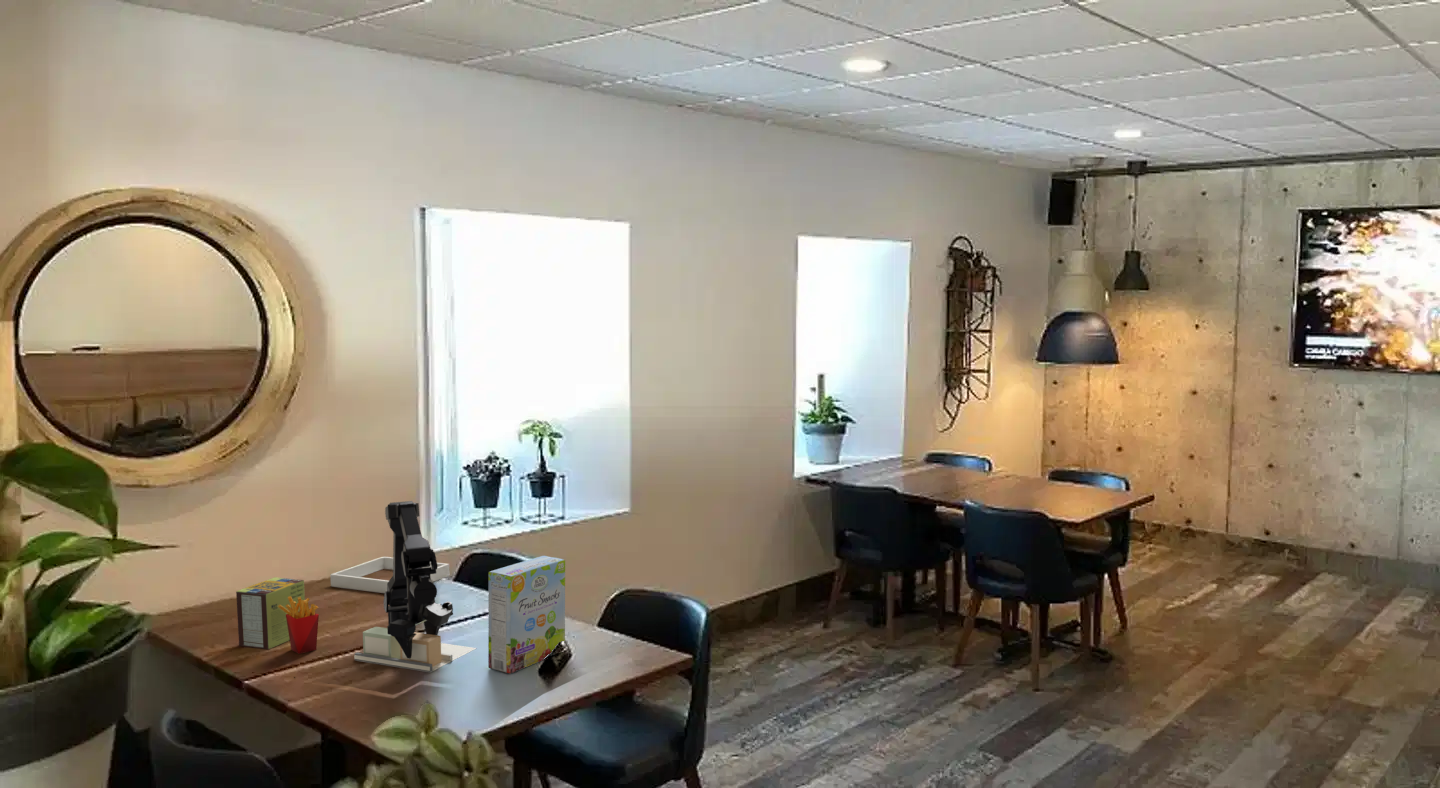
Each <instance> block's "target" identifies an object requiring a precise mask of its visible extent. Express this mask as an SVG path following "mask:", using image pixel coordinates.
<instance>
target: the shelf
mask: <svg viewBox="0 0 1440 788" xmlns="http://www.w3.org/2000/svg"><path fill="white" fill-rule="evenodd" d="M476 649H477V647H471V646H465V645H464V646H463V645H458V644H457V645H456V644H450V643H443V642H441V663H439V664H437V665H435V666H433V667H432V664H428V663H422V662H416V661H409V660H403V659H401V658H399V659H397V658H390V657H384V656H378V655H371V654H365V653H363V652H359V651H358V652H355V653H353V654H354V661H357V662H363V663H369V664H375V665H381V666H387V667H395V668H400V669H408V670H413V671H418V672H419V671H420V672H423V673H425V672H426V673H432V672H433V671H435V670H438V669H439V668H441V667H444V666H446V665H447V664H449V663H451V662H454V661H455V660H458V659H459V658H461V657H462V656H465V655H467V654H469V653H471V652H472V651H475V650H476Z"/></svg>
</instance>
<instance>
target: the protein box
mask: <svg viewBox="0 0 1440 788" xmlns="http://www.w3.org/2000/svg"><path fill="white" fill-rule="evenodd" d="M235 594H236V610H237V613H236V614H237V632H238V646H240V647H247V648H255V649H256V648H257V649H264V650H270V649H272V648H275V647H277V646H279V645H281V644H284V643H286V642H290V638H289V632H288V626H287V620H286V614H287V613H286V612H284V611H283V610H282V609H280V608H279V607H278V606H279V605H281V606H283V607H284V608H285V609H287V610H288V608H287V607H286V605H287V604H288V605H289V606H290V607H291V604H290V602H289V600H288V597H289V596H291V597H292V600H293V601H295V602H296V605H297V603H298V597H301V600H303V601H304V600H306V598H305V597H306V596H305V594H306V593H305V580H304V579H293V578H285V577H284V578H283V577H282V578H281V577H277V576H276V577H275V576H274V577H272V578H270V579H266V580H264V581H260V582H258V583H255V584H253V585H249V586H248V587H245V588H242V589H239V590H236V591H235ZM296 605H295V607H296ZM291 609H292V607H291ZM288 611H289V610H288ZM289 612H290V611H289ZM298 612H300V607H299V609H298ZM290 613H291V612H290Z"/></svg>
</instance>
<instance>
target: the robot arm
mask: <svg viewBox="0 0 1440 788" xmlns="http://www.w3.org/2000/svg"><path fill="white" fill-rule="evenodd" d="M384 510H385V511H384V515H385V519H386V520H387V522H388V525H389V526H388V527H389V529H390V530H391V531H392V533H393V535H392V536H393V537H392V539H393V542H392V543H393V545H392V546H393V548H392V550H393V551H392V553H393V555H392V558H393V570H392V576H391V578H390V579H389V580H388V581H389V582H388V583H387V591H385V593H384V595H383V597H384V598H383V609H384V611H385V613H387V620H388V623H387V624H388V625H387V626H386V628H387V633H388V634H389V635H391V636H394V637H395V639H396V640H397V641H398V643H399V645H400V646H401V648H402V650H403V652H404V653H405V655H406V657H407V658H411V656H412V639H413V638H414V636H415V635H416V633H414V632H416V630H417V629H416V628H417V626H419V625H421V624H423V625H424V629H425V634H431V635H438V634H439V631H440V628H441V626H442V625H445V624H447V623H448V622H449V619H450V618H451V616H453V615H454V613H453V612H454V607H453V603H452V602H451V601H448V600H447V601H446V602H443V603H441V602H440V603H436V599H435V598H436V597H437V595H438V594H437V593H438V589H437V586H436V585H435V583H434V582H432V581H431V578H430V574H436V569H437V567H438V566H437V563H438V562H437V557H436V552H435V551H434V549H433V548H431V545H430V544H429V543H430V542H429V540H428V539H426V538H425V537H423V536H422V531H421V527H420V523H419V520H418V517H420V506H419V502H414V501H413V500H408V501H407V500H406V501H396V502H390V503H389V504H387V506H385V509H384ZM430 562H431V566H432V568H431V567H429V566H430ZM422 567H429V568H422ZM438 636H439V635H438Z"/></svg>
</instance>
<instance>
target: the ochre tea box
mask: <svg viewBox="0 0 1440 788" xmlns="http://www.w3.org/2000/svg"><path fill="white" fill-rule="evenodd" d="M414 633H416V635H415V636H414V638H413V639H412V656H411V658H407V657H406V655H405V653H404V652H403V650H402V648H401V646H400V656H401V659H403V660H409V661H416V662H422V663H428V664H432V667H433V666H435V665H437V664H439V663H441V643H442V640H441V638H442V637H441V635H431V634H426V633H424V632H423V633H422V632H416V631H415V632H414Z"/></svg>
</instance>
